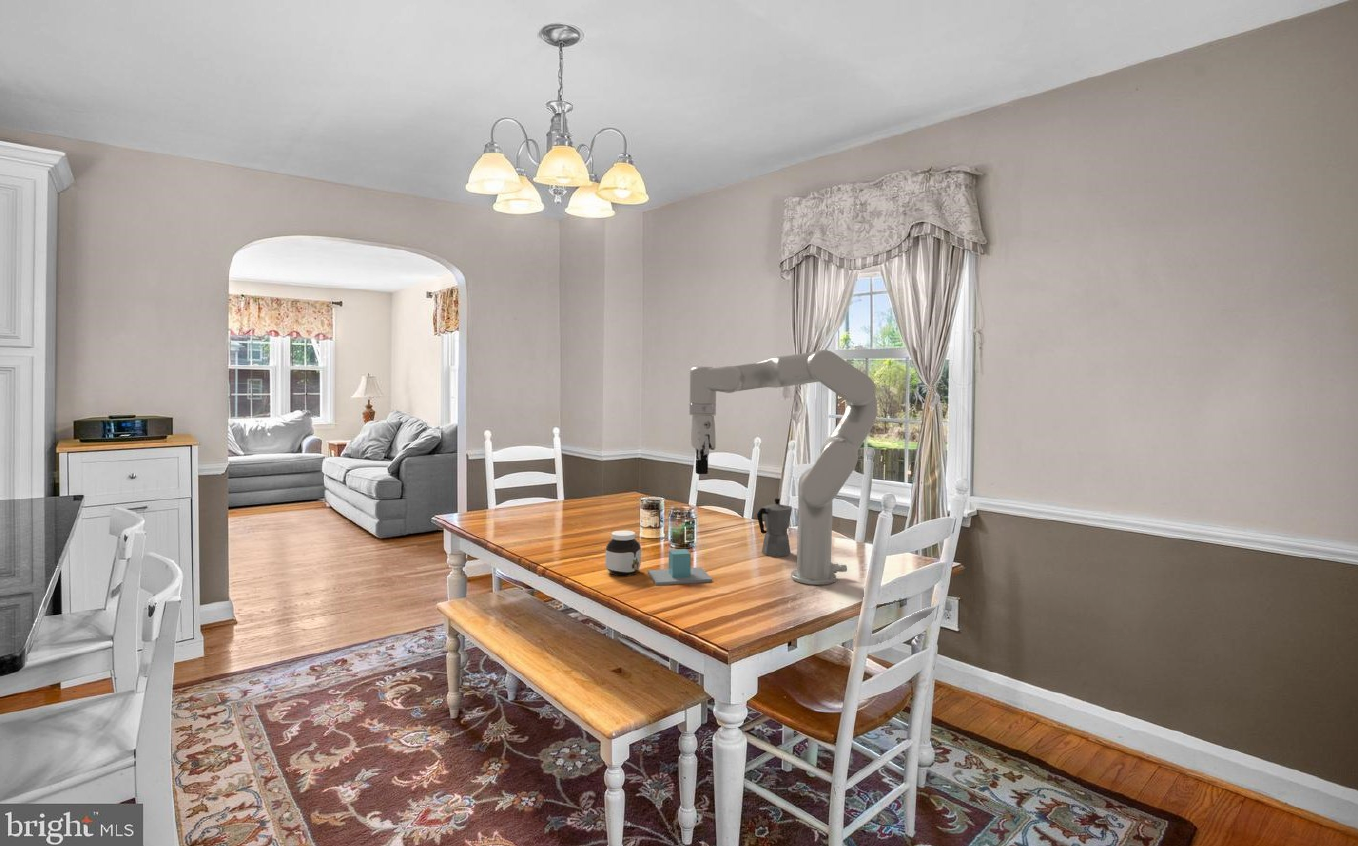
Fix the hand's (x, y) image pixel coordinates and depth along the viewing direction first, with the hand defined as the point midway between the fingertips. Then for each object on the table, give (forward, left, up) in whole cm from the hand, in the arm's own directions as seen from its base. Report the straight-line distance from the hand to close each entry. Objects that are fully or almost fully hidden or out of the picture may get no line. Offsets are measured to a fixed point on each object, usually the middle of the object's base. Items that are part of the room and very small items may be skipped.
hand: (701, 473), depth 202 cm
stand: (+7, +3, -29) cm, 30 cm away
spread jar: (+22, -7, -29) cm, 37 cm away
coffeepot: (-29, -16, -29) cm, 44 cm away
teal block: (+7, +3, -28) cm, 29 cm away
